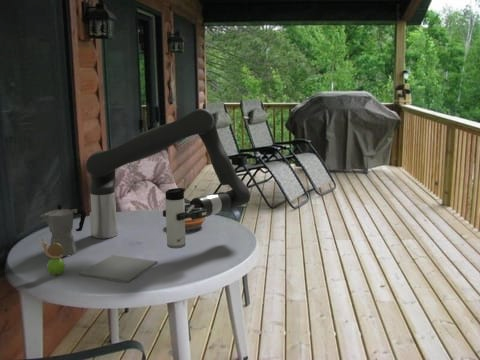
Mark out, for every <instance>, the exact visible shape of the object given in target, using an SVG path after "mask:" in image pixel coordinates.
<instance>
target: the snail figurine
mask: <svg viewBox="0 0 480 360" xmlns="http://www.w3.org/2000/svg"><path fill="white" fill-rule="evenodd" d="M44 240H45V239H44V238H43V237H42V238H41V241H42V243H41V244H42V248H43V251H44V253H45V255H46V256H47V257H48V258H50V259H49V260H48V262H47V264H46V268H47V271H48V272H49V274H52V275H55V276H57V275H60V274H62V273H63V272H64V270H65V269H66V264H65V261H64V260H63V259H62V258H63V257H62V256H63V254H61V253H62V251H63V248H62V246H61V245H60V244H58V243H52V244H51V243H50V245H49V246H48V243H47V242H46V241H44ZM60 254H61V255H60Z"/></svg>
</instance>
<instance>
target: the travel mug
mask: <svg viewBox="0 0 480 360" xmlns="http://www.w3.org/2000/svg"><path fill="white" fill-rule="evenodd" d="M185 191H186V188H185V187H184V188H183V187H175V188H171V189H170V188H169V189H167V190H166V191H165V199H164V200H165V210H166V217H165V222H166V223H165V224H166V225H165V226H166V229H165V230H166V247H168V248H170V249H174V250H175V249H177V250H178V249H181V248H184V247H186V231H185V219H184V220H180V221H178V220H177V218H176V215H177V214H179V213H183V212H185Z"/></svg>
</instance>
